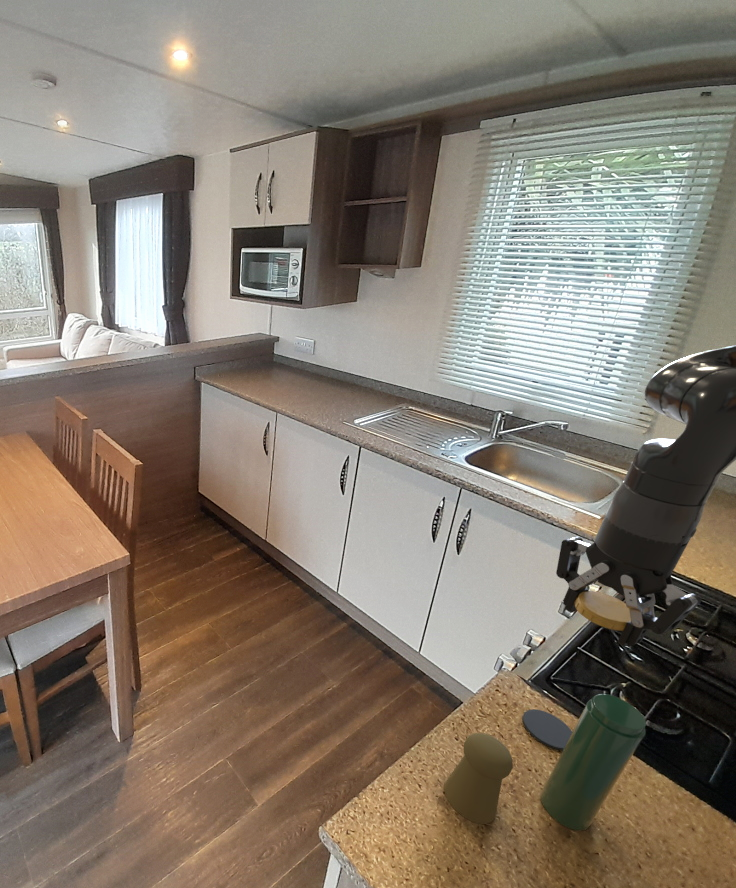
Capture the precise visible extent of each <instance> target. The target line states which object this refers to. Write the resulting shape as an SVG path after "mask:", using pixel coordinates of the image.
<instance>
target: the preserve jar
mask: <svg viewBox="0 0 736 888" xmlns="http://www.w3.org/2000/svg"><path fill="white" fill-rule="evenodd" d="M646 726H647V721H646V718H645V717H644V715H643V714H642V713H641V712H640V711H639V710H638V709H637V708H636V707H635V706H633V705H632V704H630V703H629V702H627V701H626V700H624V699H622V698H620V697H618V696H615V695H612V694H608V693H607V694H606V693H598V694H596V695H594V696H592V698H591V699H589V700H588V701H587V702H586V704H585V706H584V708H583V710H582V712H581V714H580V716H579V718H578V720H577V722H576V724H575V726H574V727H573V730H571V731H572V733H571V735H570V737H569V739H568V741H567V743H566V745H565V747H564V749H563V750H561V753H560V755H559V757H558V759H557V761H556V762H555V764H554V767H553V768H552V771H551V773H550V774H549V776H548V778H547V779H546V782H545V784H544V786H543V788H542V790H541V792H540V795H539V797H540V801H541V805H542V806H543V808H544V809H545V810H546V812H547V813H548V814H549V815H550V816H551V817H552V818H553V819H554V820H555V821H556V822H558V823H559V824H561V825H562V826H564V827H567V828H568V829H571V830H574V831H580V832H581V831H586V830H588V829H589V828H590V826H591V825H592V823H593V821H594V820H595V818H596V816H597V815H598V813H599V812H600V810H601V809H602V806H604V805H603V804H604V803H605V802H606V800H607V798H608V797H609V795H610V793H612V792H611V791H612V790H613V788H614V787H615V785H616V783H618V780H620V777H621V775H622V773H623V772H624V770H625V769H626V767H627V766H628V764H629V762H630V761H631V759H632V757H633V755H635V752H636V750H638V747H639V745H640V744H641V743H642V741H643V740H644V738H645V735H646Z"/></svg>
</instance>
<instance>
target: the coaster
mask: <svg viewBox="0 0 736 888" xmlns="http://www.w3.org/2000/svg"><path fill="white" fill-rule="evenodd" d="M521 720H522V724H523V726H524V728H525V730H526V731H527V732H528V733H529V735H531V736H532V737H533V738H534V739H535V740H536V741H538V742H540V743H541V744H543V745H544V746H546V747H548V748H551V749H553V750H557V751H563V749H564V747H565V745H566V743H567V741H568V739H569V737H570V735H571V733H572V731H573V730H571V728H570V727H569V726H568V725H567V724H566V723H565V722H564V721H563V720H561V719H560V718H559V717H557V716H555V715H553V714H552V713H549V712H547V711H545V710H541V709H528V710H526V711H524V713H523V714H522V718H521Z"/></svg>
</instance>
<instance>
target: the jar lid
mask: <svg viewBox="0 0 736 888" xmlns="http://www.w3.org/2000/svg"><path fill="white" fill-rule="evenodd" d="M575 607H576V609H577V611H576V612H578V613H579V614H580V615H581V616H583V618H585V619H587V620H588V621H590V622H591V623H593V624H595V625H597V626H600V627H602V628H606V629H608V630H614V631H621V632H623V630H624V628H625V626H626V624H627V622H629V621H631V617H630V610H629V608H627V607H626V602H624V601H623V600H621V599H619V598H617V597H615V596H612V595H610V594H607V593H604V592H599V591H593V590H588V591H585V592H582V593H580V594H579V596H578V598H577V599H576V601H575Z"/></svg>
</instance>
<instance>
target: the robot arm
mask: <svg viewBox="0 0 736 888" xmlns="http://www.w3.org/2000/svg"><path fill="white" fill-rule="evenodd" d="M644 398H645V401H646V403H647V405H648V406H649V407H650V408H651V409H652V410H654V411H655V412H657V413H658V414H660V415H662V416H664V417H667V418H669V419H672V420H674V421H676V422H679V423H681V424H683V425H685V427H684V430H683V431H682V432H681V433H680V435H679V436H678V437H676V439H675V438H674V439H673V438H655V439H650V440H647V441H645V442H644V443H642V444H641V445H640V446H639V447H638V449H637V451H636V453H635V455H634V456H633V459H632V461H631V463H630V466H629V467H628V470H627V472H626V474H625V476H624V478H623V481H622V483H621V484H620V486H619V488H618V489H617V490H616V491H615V493H614V495H613V497H612V499H611V502H610V503H609V505H608V509H607V511H606V513H605V515H604V517H603V520H602V522H601V524H600V527H599V528H598V531H597V533H596V536H595V538H594V542H593V543H588V542H585V541H584V539H583V538H582V537H580V536H573V537H570V538H566V539H563V540H561V545H560V549H559V555H558V559H557V560H558V561H557V566H556V571H555V573H556V576H557V577H558V578H559V579H563V580H564V581H565V582H566V583H567V585H568V588H567V590H566V593H565V595H564V597H563V599H562V604H563V605H564V610H565V611H567V612H568V613H570V614H573V613H575V612H578V611H577V609H576V607H575V601H576V599H577V598H578V596H579V594H580V593H582V592H585V591H590V590H589V589H588V588H587V587H589V586H591V585H592V584H595V583H596V582H597V583H598V584H600V585H602V586H605V587H607V588H610V589H613V590H614V591H615V592H616V593H617V594H618V595H620V596H622V597H624V600H625V602H624V603H626V607H627V608H629V610H630V617H631V621H629V622H627V624H626V626H625V628H624V630H623V631H621V633H620V636H619V638H618V639H617V643H618V644H619V645H620V646H622V647H627V646H630V647H632V646H634V645H637V644H639V643H641V642H642V641H643V640H644V638H645V635H646V634H647V632H648V630H650V631H652V632H653V633H654V634H657V635H662V634H665V633H666V632H668V631H672V630H674V629H676V628H677V627H678V626H679V625H680V624H681V623H682V622H683V621H684V620H685V619H686V617H688V615H690V613H692V611H693V610H694V609H696V608H697V606H699V605H700V604H701V602H702V599H701V597H700V596H699V595H698V594H696V593H686V592H685V591H683V590H682V589H680V588H679V587H677V586H675V585H673V579H672V574H673V572H674V570H675V569H676V567H677V565H678V563H679V561H680V559H681V558H682V556H683V554H684V552H685V550H686V548H687V546H688V544H689V543H690V541H691V539H692V538H693V537H694V536H695V535H696V533H697V527H698V526H699V523H700V522H701V520H702V516H703V512H704V510H705V506H706V504H707V502H708V500H709V498H710V496H711V494H712V492H713V490H714V488H715V487H716V485H717V483H718V482H719V479H720V477H721V475H722V474H723V472H724V471H725V470H727V469H728V467H730V466H731V465H732V464H733V463H734V462H736V345H732V346H726V347H722V348H721V347H720V348H717V349H712V350H706V351H703V352H698V353H695V354H691V355H688V356H686V357H685V356H684V357H683V358H680V359H678V360H675V361H673V362H671V363H669V364H667V365H665V366H664V367H663V368H661V369H659V370H658V371H657V372H656V373H655V374H654V375H652V377H651V378H650V379H649V380H648V382H647V384H646V386H645V389H644ZM583 555H586V557H587V560H588V562H589V565H590V569H588V570H586V571H585V572H583V573H581V574H579V573H578V571H579V566H580V561H581V556H583ZM661 592H663V593H664V594H665V596H666V597H665V600H664V601H665V604H666V605H667V608H666V609H665V610H663V612H662V613H661V614H660V615H659V616H657V617H656V614H655V608H654V607H655V605H656V597H655V594H657V593H661Z"/></svg>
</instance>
